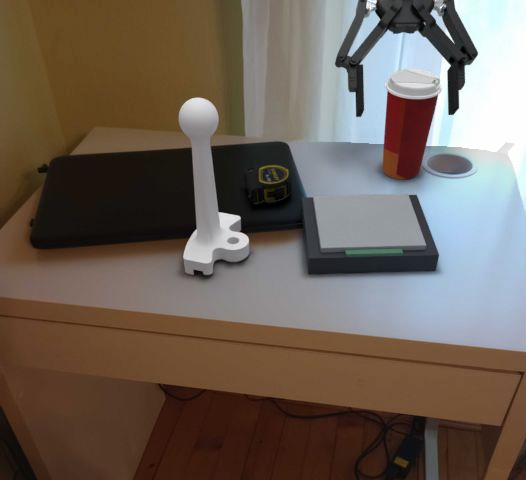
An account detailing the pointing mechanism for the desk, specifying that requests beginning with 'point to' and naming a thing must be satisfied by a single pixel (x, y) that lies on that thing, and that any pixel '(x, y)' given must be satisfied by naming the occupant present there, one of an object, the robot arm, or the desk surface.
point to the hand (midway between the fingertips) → (406, 112)
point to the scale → (367, 234)
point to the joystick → (208, 196)
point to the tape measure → (268, 183)
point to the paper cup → (408, 120)
